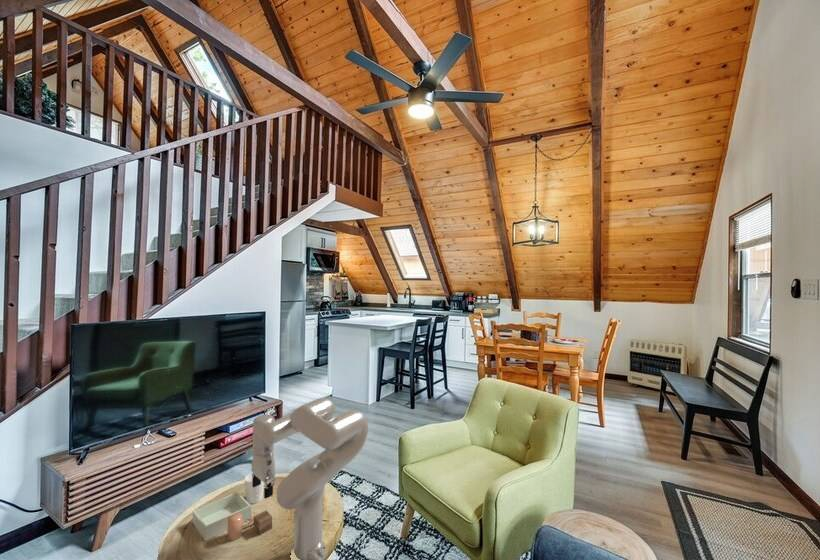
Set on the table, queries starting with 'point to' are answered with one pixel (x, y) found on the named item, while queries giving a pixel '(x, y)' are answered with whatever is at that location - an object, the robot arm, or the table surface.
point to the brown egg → (234, 526)
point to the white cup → (253, 490)
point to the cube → (262, 522)
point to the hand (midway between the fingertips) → (262, 491)
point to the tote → (220, 515)
